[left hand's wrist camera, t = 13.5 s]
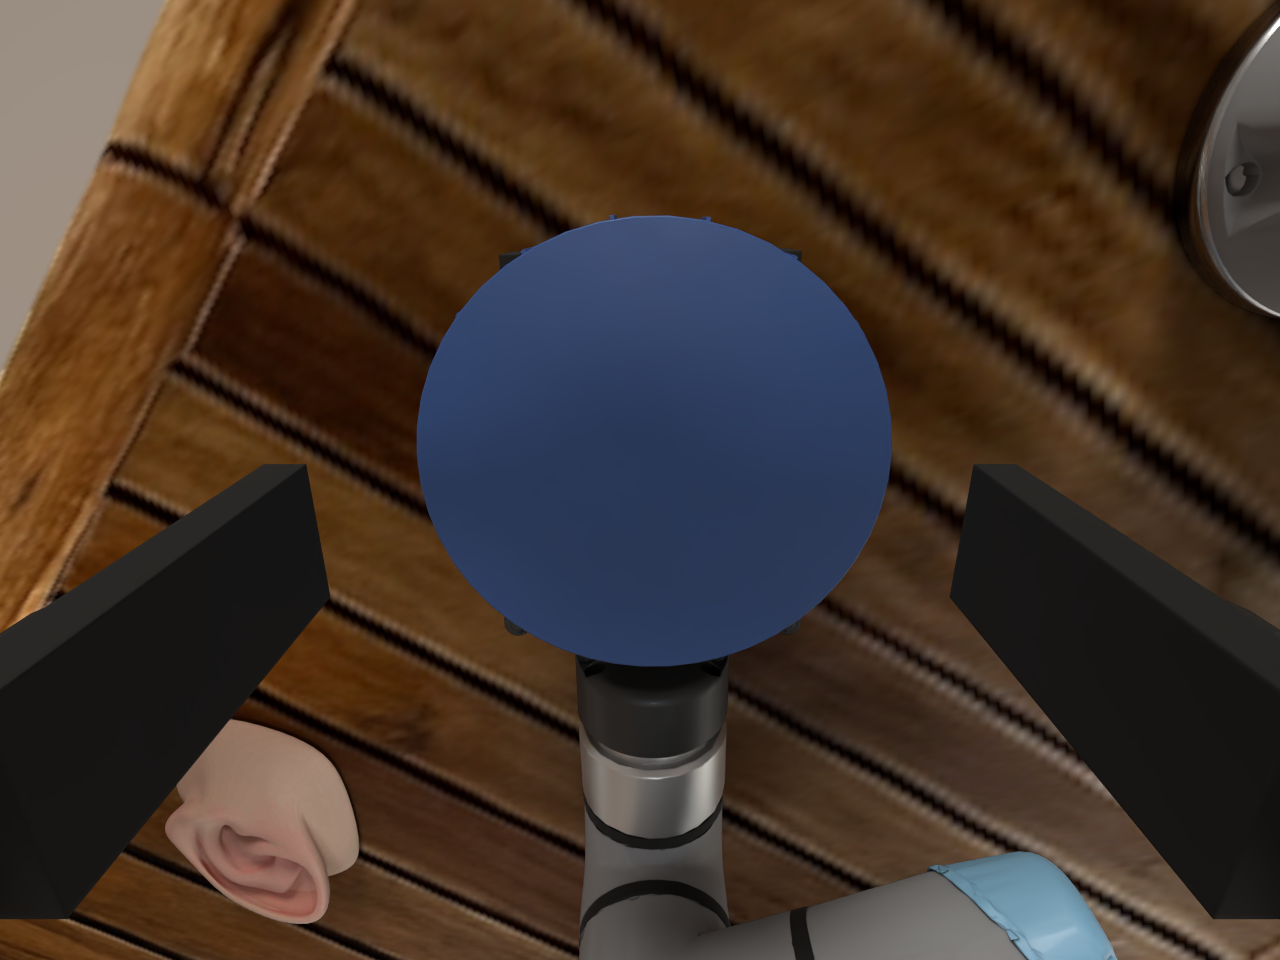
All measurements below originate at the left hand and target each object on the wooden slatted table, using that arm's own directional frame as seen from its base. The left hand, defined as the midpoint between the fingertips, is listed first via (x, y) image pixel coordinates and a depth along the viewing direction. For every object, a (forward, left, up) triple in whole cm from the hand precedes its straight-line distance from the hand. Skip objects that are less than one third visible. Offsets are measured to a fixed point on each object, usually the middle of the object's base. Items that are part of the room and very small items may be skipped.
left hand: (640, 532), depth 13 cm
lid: (0, 0, -4) cm, 4 cm away
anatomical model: (+5, +39, -23) cm, 45 cm away
